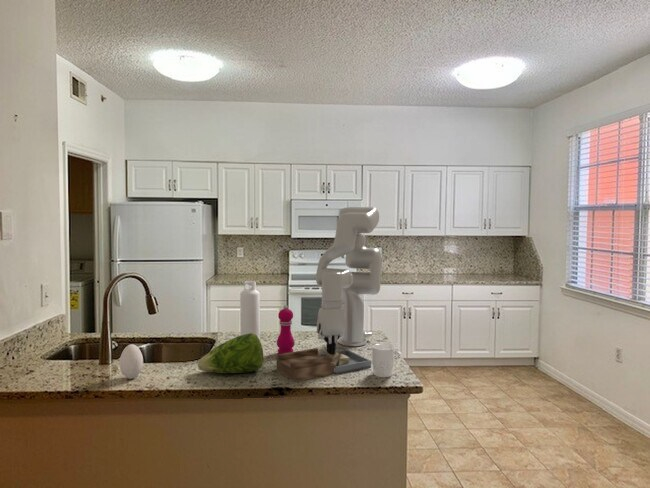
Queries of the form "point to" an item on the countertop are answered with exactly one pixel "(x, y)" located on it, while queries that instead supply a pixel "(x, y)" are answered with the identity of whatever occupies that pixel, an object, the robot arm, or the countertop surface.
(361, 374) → the countertop surface
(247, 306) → the bottle
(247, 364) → the lettuce
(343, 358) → the chip
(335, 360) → the chip
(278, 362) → the brown wooden box
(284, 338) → the pepper mill
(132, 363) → the egg
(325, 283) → the robot arm
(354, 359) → the tray
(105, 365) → the countertop surface
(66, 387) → the countertop surface
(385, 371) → the white cup
